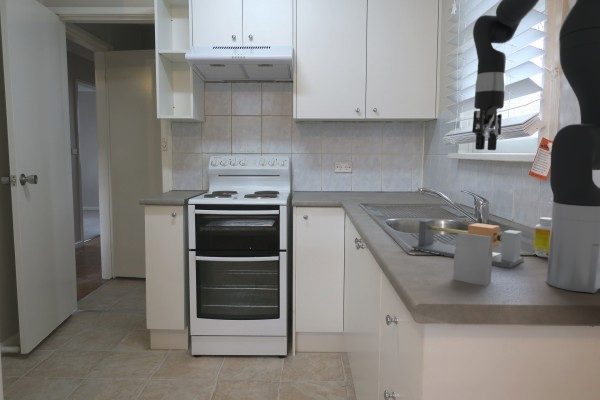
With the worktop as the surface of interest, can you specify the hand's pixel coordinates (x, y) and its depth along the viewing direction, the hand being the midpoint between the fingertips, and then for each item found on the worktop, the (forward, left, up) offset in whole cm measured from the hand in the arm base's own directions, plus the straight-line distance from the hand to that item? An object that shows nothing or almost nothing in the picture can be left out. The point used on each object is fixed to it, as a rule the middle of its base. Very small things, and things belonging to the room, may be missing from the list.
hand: (485, 149), depth 123 cm
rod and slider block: (-1, +12, -28) cm, 31 cm away
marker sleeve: (-5, +12, -25) cm, 28 cm away
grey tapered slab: (-12, +34, -28) cm, 46 cm away
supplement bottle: (-16, -4, -28) cm, 33 cm away
